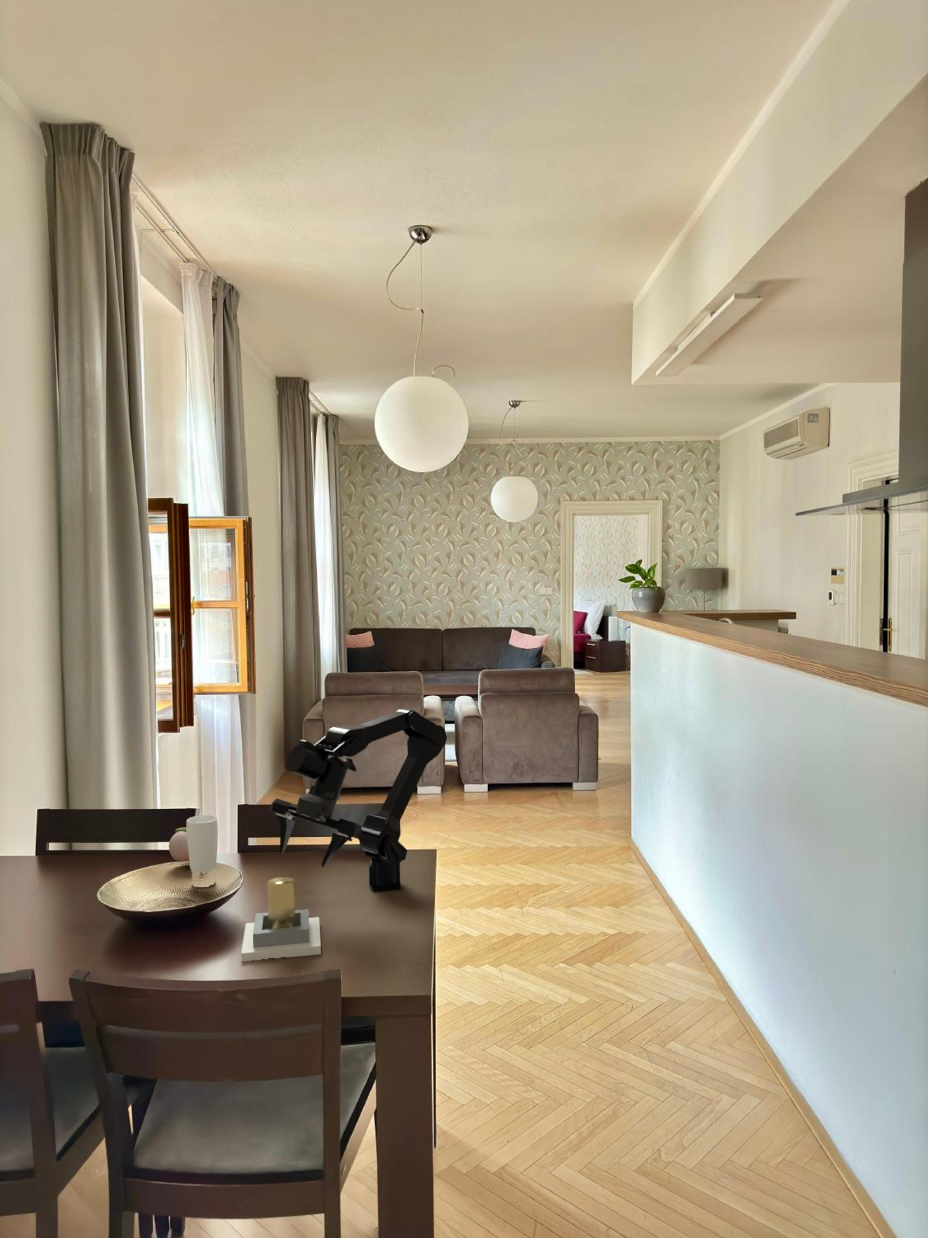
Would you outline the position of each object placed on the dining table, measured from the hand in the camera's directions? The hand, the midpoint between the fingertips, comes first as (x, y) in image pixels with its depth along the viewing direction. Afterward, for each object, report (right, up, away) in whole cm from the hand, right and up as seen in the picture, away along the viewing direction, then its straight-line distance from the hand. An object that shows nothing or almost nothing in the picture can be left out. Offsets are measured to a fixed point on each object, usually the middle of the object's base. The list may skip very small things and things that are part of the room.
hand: (301, 860), depth 175 cm
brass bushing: (-1, -10, -13) cm, 17 cm away
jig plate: (-1, -12, -13) cm, 18 cm away
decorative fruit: (-33, -11, +32) cm, 47 cm away
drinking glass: (-26, -11, +19) cm, 34 cm away
